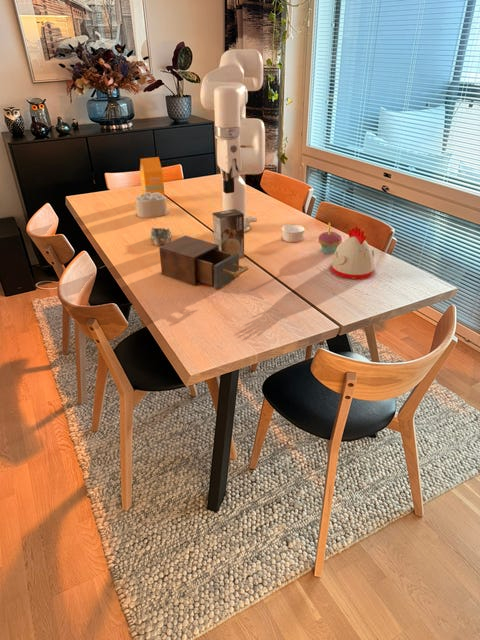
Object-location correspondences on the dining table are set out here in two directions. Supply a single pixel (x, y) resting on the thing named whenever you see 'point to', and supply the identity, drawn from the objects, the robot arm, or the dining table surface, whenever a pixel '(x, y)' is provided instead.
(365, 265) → the kitchen timer
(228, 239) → the coffee box
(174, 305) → the dining table surface
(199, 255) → the cabinet
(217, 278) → the drawer
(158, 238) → the egg carton
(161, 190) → the orange juice
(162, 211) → the lumpy-topped squat cylinder
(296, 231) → the ramekin
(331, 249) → the cupcake
